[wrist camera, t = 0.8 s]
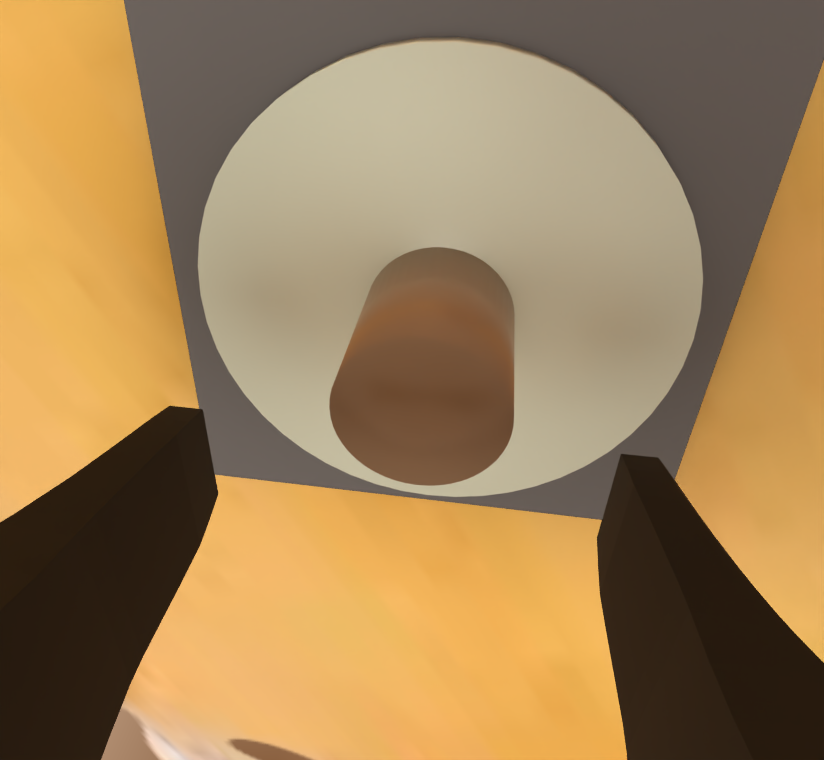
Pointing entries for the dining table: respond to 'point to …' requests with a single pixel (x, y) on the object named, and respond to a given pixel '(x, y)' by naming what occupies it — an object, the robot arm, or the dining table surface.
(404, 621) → the dining table surface
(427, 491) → the lid
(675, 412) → the mat
